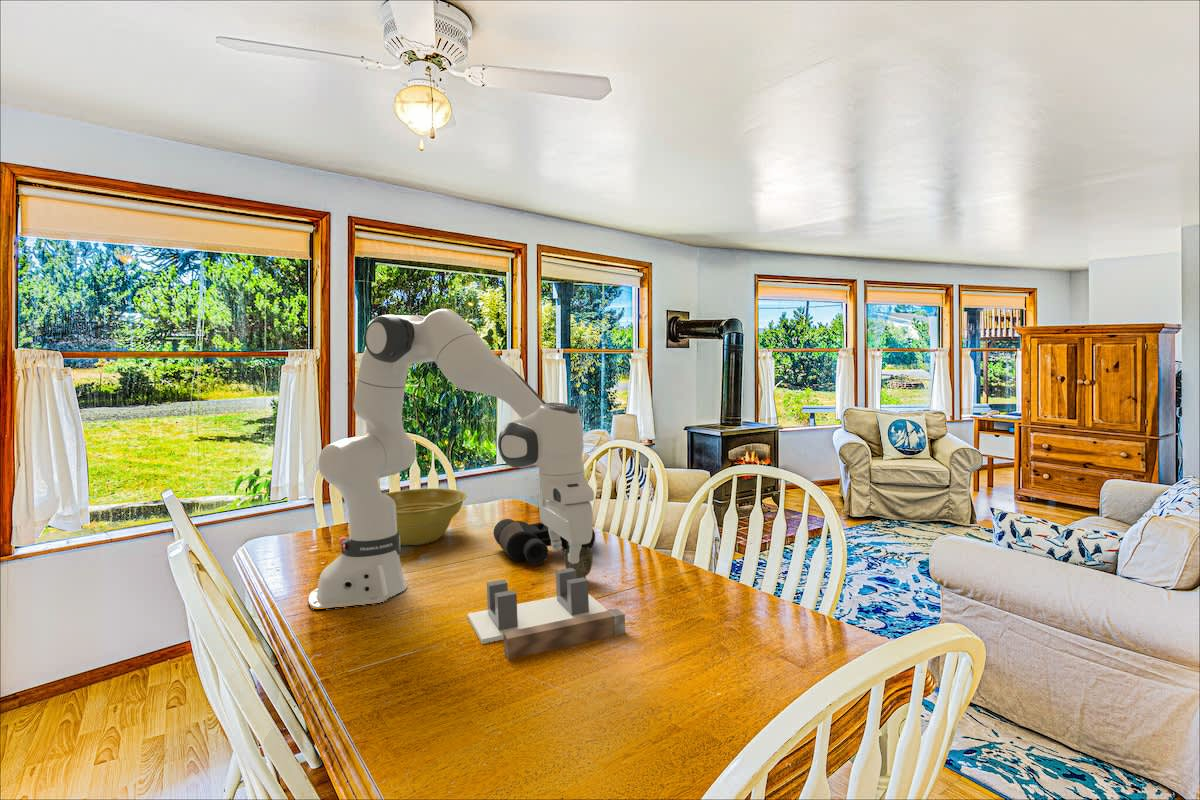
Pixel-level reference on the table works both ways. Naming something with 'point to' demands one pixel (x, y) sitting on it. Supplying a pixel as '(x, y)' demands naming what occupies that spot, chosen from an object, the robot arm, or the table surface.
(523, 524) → the binoculars
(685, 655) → the table surface
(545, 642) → the walnut bar
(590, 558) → the cup
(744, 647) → the table surface
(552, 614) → the board
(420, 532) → the planter bowl
